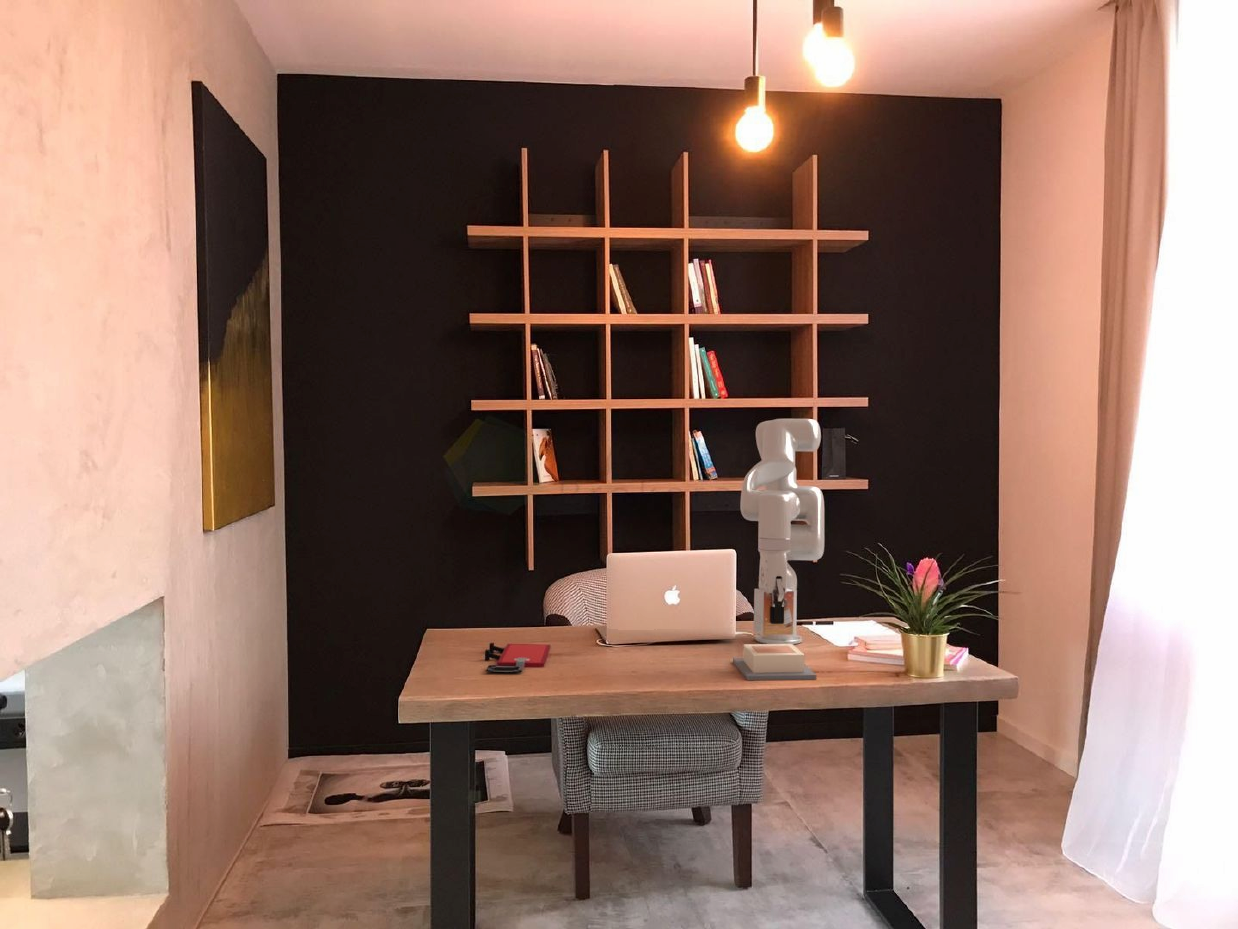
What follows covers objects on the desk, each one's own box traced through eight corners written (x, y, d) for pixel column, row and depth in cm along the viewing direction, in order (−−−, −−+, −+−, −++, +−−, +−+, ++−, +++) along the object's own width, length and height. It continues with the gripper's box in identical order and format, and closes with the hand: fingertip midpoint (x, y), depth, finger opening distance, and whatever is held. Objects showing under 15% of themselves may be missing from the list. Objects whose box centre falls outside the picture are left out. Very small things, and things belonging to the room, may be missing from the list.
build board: (732, 662, 248) (733, 641, 248) (796, 661, 250) (797, 640, 249) (747, 680, 230) (747, 658, 230) (816, 679, 232) (816, 657, 231)
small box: (762, 636, 236) (763, 591, 235) (753, 632, 241) (753, 588, 241) (794, 635, 238) (794, 590, 238) (784, 630, 243) (784, 587, 243)
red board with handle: (476, 675, 235) (541, 676, 235) (477, 663, 235) (541, 664, 235) (493, 648, 265) (550, 650, 265) (493, 638, 265) (550, 639, 265)
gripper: (751, 541, 247) (750, 614, 248) (766, 549, 230) (765, 628, 231) (781, 541, 248) (780, 614, 248) (799, 549, 231) (798, 627, 231)
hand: (773, 620), depth 239 cm, fingers closed on small box, 6 cm apart
